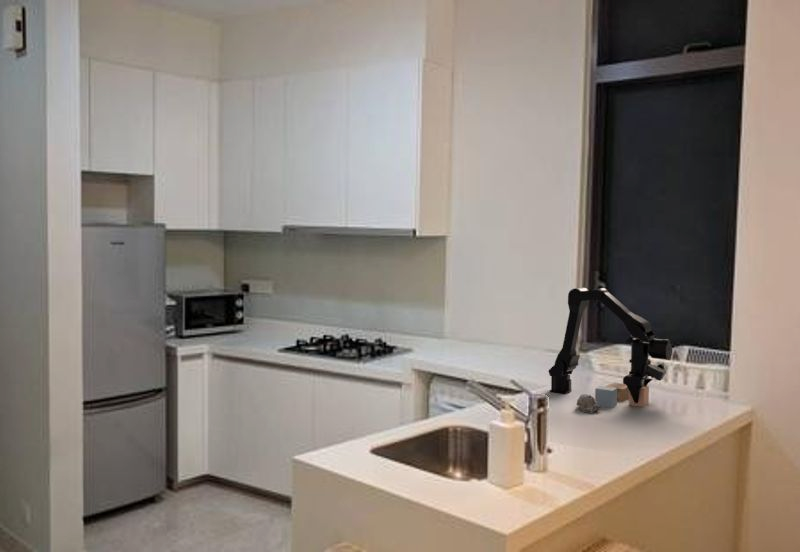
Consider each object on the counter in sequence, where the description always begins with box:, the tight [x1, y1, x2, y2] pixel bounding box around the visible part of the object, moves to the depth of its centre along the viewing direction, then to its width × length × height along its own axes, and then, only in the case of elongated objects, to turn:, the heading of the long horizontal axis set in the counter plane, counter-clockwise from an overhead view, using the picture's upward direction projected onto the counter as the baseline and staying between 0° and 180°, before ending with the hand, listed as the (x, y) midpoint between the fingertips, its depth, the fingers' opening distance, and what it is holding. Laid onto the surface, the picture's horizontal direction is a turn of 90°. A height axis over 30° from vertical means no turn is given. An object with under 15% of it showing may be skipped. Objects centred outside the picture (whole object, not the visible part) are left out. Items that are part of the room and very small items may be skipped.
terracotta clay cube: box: [628, 385, 650, 407], centre depth 250 cm, size 6×5×6 cm
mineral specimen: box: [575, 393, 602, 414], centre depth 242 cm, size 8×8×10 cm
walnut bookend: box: [604, 382, 629, 402], centre depth 260 cm, size 7×9×4 cm
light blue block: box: [594, 385, 618, 409], centre depth 248 cm, size 6×5×6 cm
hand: (638, 401), depth 250 cm, fingers open, 6 cm apart
